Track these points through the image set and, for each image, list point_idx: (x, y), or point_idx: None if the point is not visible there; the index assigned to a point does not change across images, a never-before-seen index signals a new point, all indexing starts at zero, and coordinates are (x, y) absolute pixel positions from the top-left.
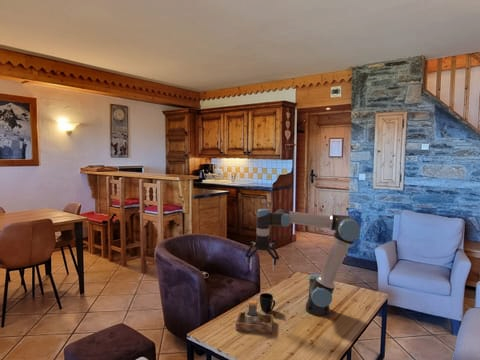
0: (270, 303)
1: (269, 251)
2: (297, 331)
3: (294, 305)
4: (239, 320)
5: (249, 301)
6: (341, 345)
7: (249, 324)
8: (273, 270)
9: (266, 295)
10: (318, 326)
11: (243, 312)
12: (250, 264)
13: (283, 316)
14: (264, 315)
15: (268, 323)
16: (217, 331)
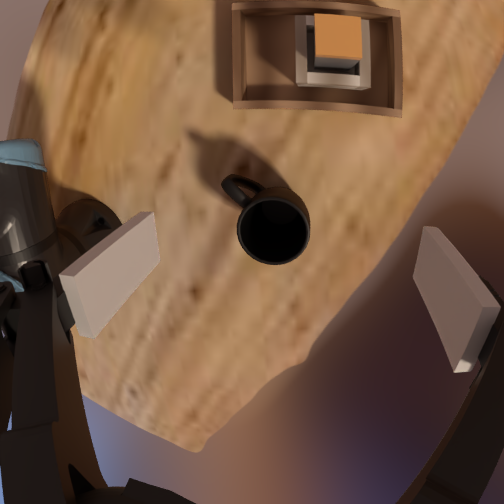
0: (252, 197)
1: (20, 408)
2: (142, 61)
3: (168, 266)
4: (390, 63)
5: (361, 36)
6: (38, 43)
7: (336, 3)
8: (139, 213)
9: (275, 256)
10: (81, 123)
11: (383, 110)
12: (453, 255)
13: (200, 163)
14: (276, 100)
15: (257, 80)
16: (454, 12)
